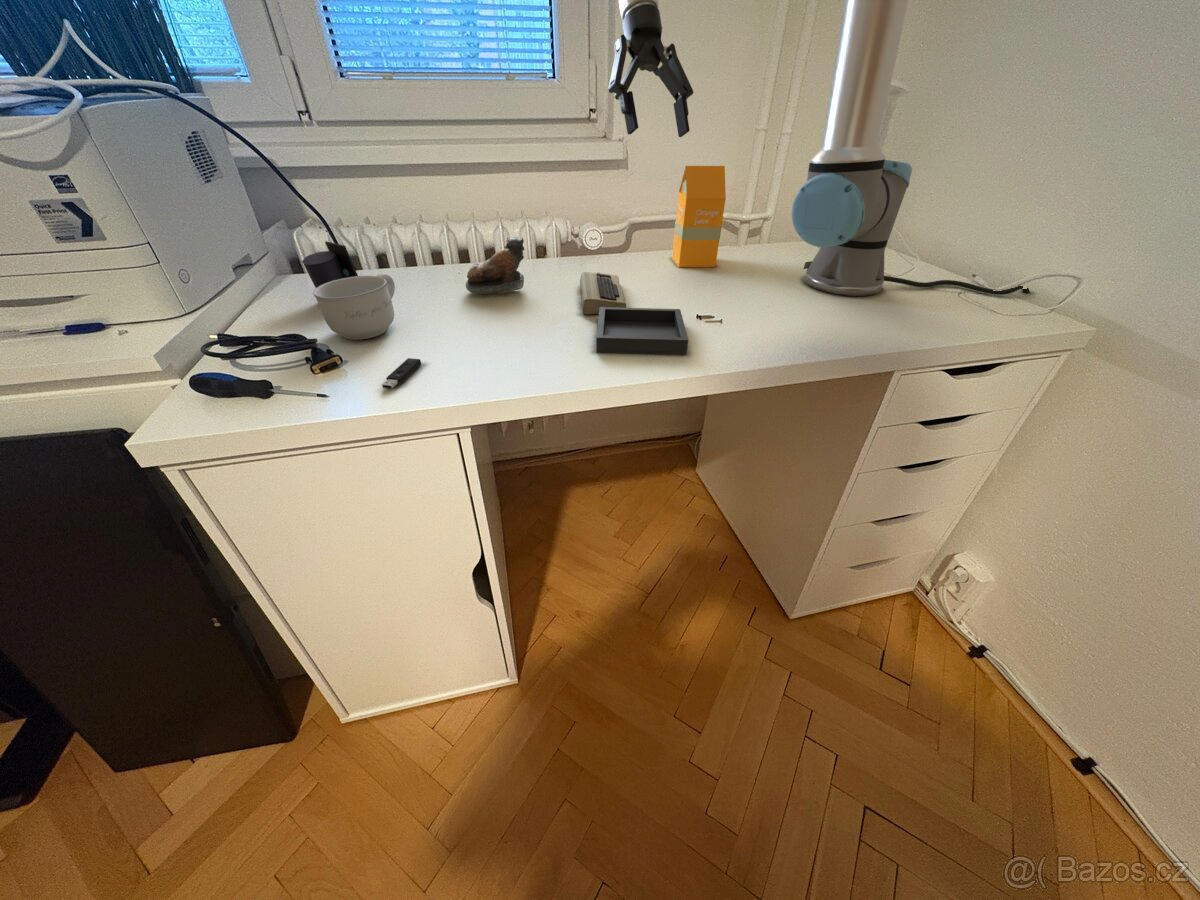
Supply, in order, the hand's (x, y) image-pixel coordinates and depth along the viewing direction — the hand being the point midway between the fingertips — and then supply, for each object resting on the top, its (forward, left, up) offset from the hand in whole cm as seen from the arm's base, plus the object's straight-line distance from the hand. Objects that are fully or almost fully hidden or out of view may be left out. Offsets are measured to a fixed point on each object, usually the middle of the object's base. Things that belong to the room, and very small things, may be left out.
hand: (659, 132), depth 99 cm
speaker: (+60, +32, -26) cm, 72 cm away
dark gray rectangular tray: (+4, +44, -26) cm, 51 cm away
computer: (+11, +27, -26) cm, 39 cm away
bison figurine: (+32, +24, -26) cm, 47 cm away
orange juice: (-10, 0, -26) cm, 28 cm away
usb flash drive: (+38, +60, -26) cm, 75 cm away
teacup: (+49, +44, -26) cm, 70 cm away
